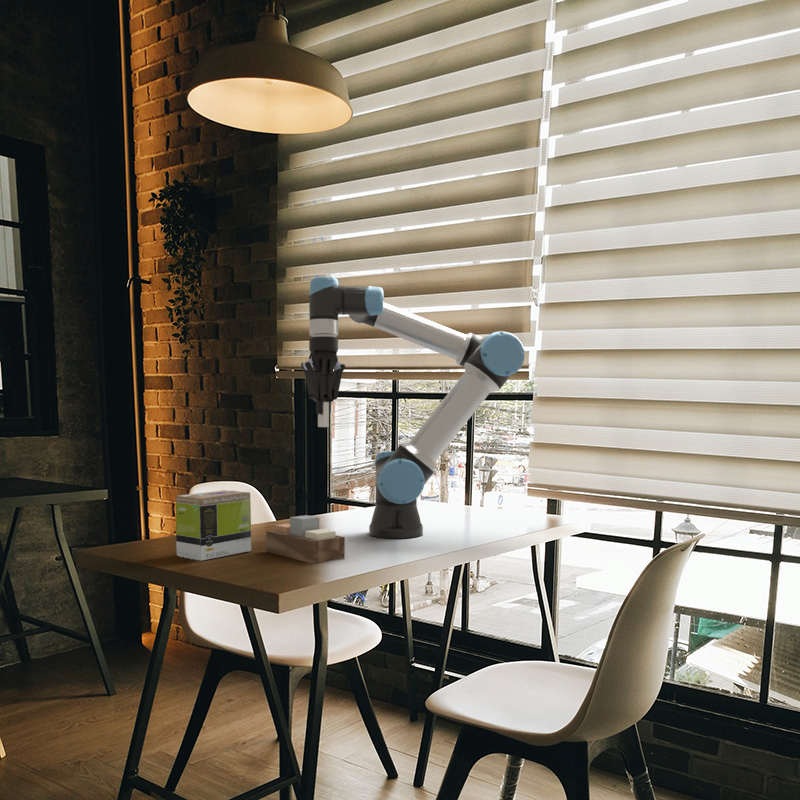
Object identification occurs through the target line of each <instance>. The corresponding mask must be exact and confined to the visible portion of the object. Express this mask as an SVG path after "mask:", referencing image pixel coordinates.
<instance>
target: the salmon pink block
mask: <svg viewBox="0 0 800 800" xmlns="http://www.w3.org/2000/svg"><path fill="white" fill-rule="evenodd" d="M274 530H275V531H277V532H281V533H286V534H288V533H290V522H289V523H282V524H275V529H274Z"/></svg>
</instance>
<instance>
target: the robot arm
mask: <svg viewBox="0 0 800 800" xmlns="http://www.w3.org/2000/svg"><path fill="white" fill-rule="evenodd" d="M308 294H309V297H308V298H309V304H308V305H309V306H308V307H309V310H308V311H309V312H308V313H309V331H308V332H309V336H310V338H309V339H308V341H309V342H308V344H309V345H308V350H309V352H310V353H309V356H308V359H307V360H306V361H304V362H301V364H300V365H301V368H302V370H303V373H304V377H305V383H306V387H307V392H308V398H309V400H313V402H314V403H315V413H316V415H317V427H318V428H329V426H330V425H329V423H330V422H329V421H330V419H329V418H330V415H331V413H332V405H331V404H332V402H334V400H335V401H336V400H338V396H339V392H340V386H341V381H342V378H343V377H342V375H343V372H344V370H345V369H346V364H343V363H341V362H340V361H339V358H338V355H337V354H338V351H339V338H337V337H338V336H339V315H342V316H346V315H347V316H349V318H350V319H351V320H352V321H353V322H356V323H357V324H364V325H367V326H370V327H373V328H375V329H378V330H380V331H383V332H385V333H388V334H390V335H392V336H396V337H398V338H400V339H402V340H405V341H407V342H408V341H409V342H410V343H413V344H416V345H417V346H421V347H423V348H426V349H429V350H430V351H433V352H436V353H438V354H441V355H444V356H446V357H449V358H451V359H454V360H455V362H456V364H457V365H459V366H461V367H463V368H464V372H463V374H462V375H461V377H460V378H459V379H458V380H457V382H456V383H455V384H454V386H453V387H452V388H451V389H450V390H449V392H448V393H447V394H446V395H445V396H444V398H443V399H442V400H441V402H440V403H439V404H438V405H437V407H436V408H435V409H434V410H433V412H432V413H431V414H430V415H429V417H428V418H427V420H426V421H425V422H424V423H423V425H421V427H420V428H419V429H418V431H417V432H416V433H415V434H414V436H413V437H412V438H411V439H410V441H409V442H403V443H400V444H399V445H398V446H397V448H396V449H395V451H393V450H392V451H390V450H389V451H381V452H378V453H377V454H376V455H375V460H374V466H375V507H374V510H373V514H372V518H371V521H370V524H369V526H368V533H369V536H371V537H375V538H383V539H384V538H385V539H410V538H416V537H420V536H422V535H424V533H423V532H424V525H423V524H422V522H421V517H420V514H419V510H418V507H417V506H418V503H417V502H418V501H417V499H418V497H420V496H421V495H422V492H423V490H424V487H425V485H426V483H428V481H429V479H430V478H431V477H432V476H433V474H435V472H436V469H435V468H436V467H435V463H436V461H437V460H438V459H439V458H440V457H441V456H442V454H443V452H444V451H445V450H446V449H447V447H449V445H450V444H451V442H453V440H454V439H455V438H456V436H457V435H458V434H459V433H460V431H461V430H462V429H463V427H464V426H465V425H466V424H467V423H468V421H469V420H470V419H471V417H472V416H473V415H474V413H476V411H477V410H478V409H479V407H480V406H481V405H482V403H483V402H484V401H485V400H486V399H487V397H488V396H489V395H490V393H493V392H499V391H500V390H501V389H502V387H503V386H504V385H505V384H506V383H507V381H508V380H509V379H510V377H511V376H513V375H514V374H516V373H517V372H519V371H520V369H521V368H522V366H523V365H524V362H525V356H526V355H525V349H524V346H523V343H522V341H521V340H520V339H519V338H518V336H516V335H514V334H513V333H511V332H507V331H495V332H492V333H490V334H489V335H487V336H481V335H477V334H475V333H472V332H468V333H466V334H465V333H462V332H460V331H457V330H454V329H452V328H450V327H447V326H445V325H441V324H439V323H437V322H435V321H431V320H429V319H427V318H426V317H425V318H424V317H422V316H420V315H416V314H415V313H412V312H410V311H406V310H403V309H401V308H399V307H396V306H394V305H392V304H390V303H387V302H384V301H385V299H384V297H385V296H384V295H385V294H384V288H383V287H380V286H373V285H369V286H367V285H365V286H363V285H362V286H361V285H359V286H357V285H355V286H353V285H352V286H351V285H350V286H349V285H347V286H346V285H345V286H344V285H340V283H339V280H338V279H337V278H335V277H334V276H333V277H332V276H316V277H313V278H312V279H311V280H310V282H309V293H308Z"/></svg>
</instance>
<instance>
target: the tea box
mask: <svg viewBox="0 0 800 800" xmlns="http://www.w3.org/2000/svg"><path fill="white" fill-rule="evenodd" d="M251 504H252V503H251V492H250V491H238V490H226V489H225V490H224V489H223V490H216V491H205V492H198V493H189V494H182V495H181V494H180V495H176V496H175V517H176V518H175V519H176V520H175V521H176V522H175V523H176V525H175V529H176V531H175V533H176V534H175V540H176V544H175V545H176V546H175V547H176V556H177V557H178V556H179V557H180V558H183V557H184V558H183V559H188V558H189V560H193V559H194V561H199V562H201V561H207V560H211V559H216V558H217V559H218V558H222V557H226V556H232V555H238V554H242V553H247V552H251V551H252V516H251V515H252V513H251V512H252V509H251V507H252V506H251Z"/></svg>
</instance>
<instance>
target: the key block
mask: <svg viewBox="0 0 800 800" xmlns="http://www.w3.org/2000/svg"><path fill="white" fill-rule="evenodd" d="M265 532H266V535H265V536H266V538H265V539H266V541H265V542H266V548H265V549H266V550H265V551H266V553H270V554H273V555H277V556H282V557H286V558H289V559H293V560H297V561H301V562H306V563H308V564H313V565H314V564H320V563H325V562H331V561H332V562H333V561H337V560H342V559H343V560H344V559H345V556H346V555H345V553H346V552H345V547H346V546H345V545H346V544H345V536H341V535H336V534H335V538H331V539H324V540H313V539H309V538H305V537H300V536H295V535H290V533H288V534H286V533H281V532H277V531H275V529H273V530H267V531H265Z"/></svg>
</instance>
